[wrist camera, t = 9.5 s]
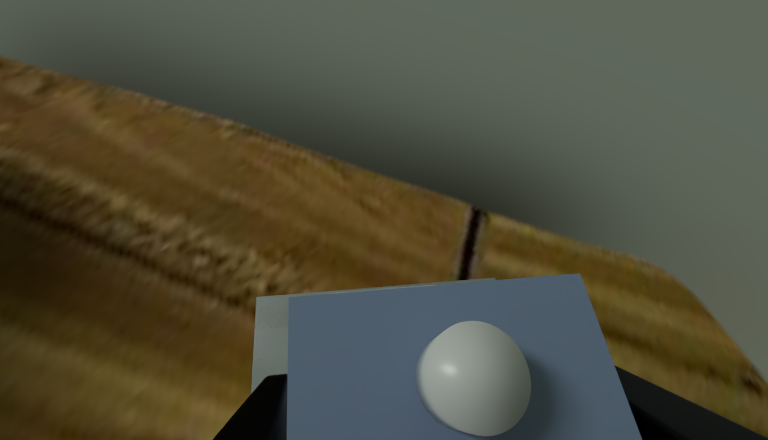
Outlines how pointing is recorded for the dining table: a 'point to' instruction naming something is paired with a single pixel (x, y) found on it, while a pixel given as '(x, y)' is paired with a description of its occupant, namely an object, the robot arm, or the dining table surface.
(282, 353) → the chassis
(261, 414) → the robot arm
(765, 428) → the dining table surface
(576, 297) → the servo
